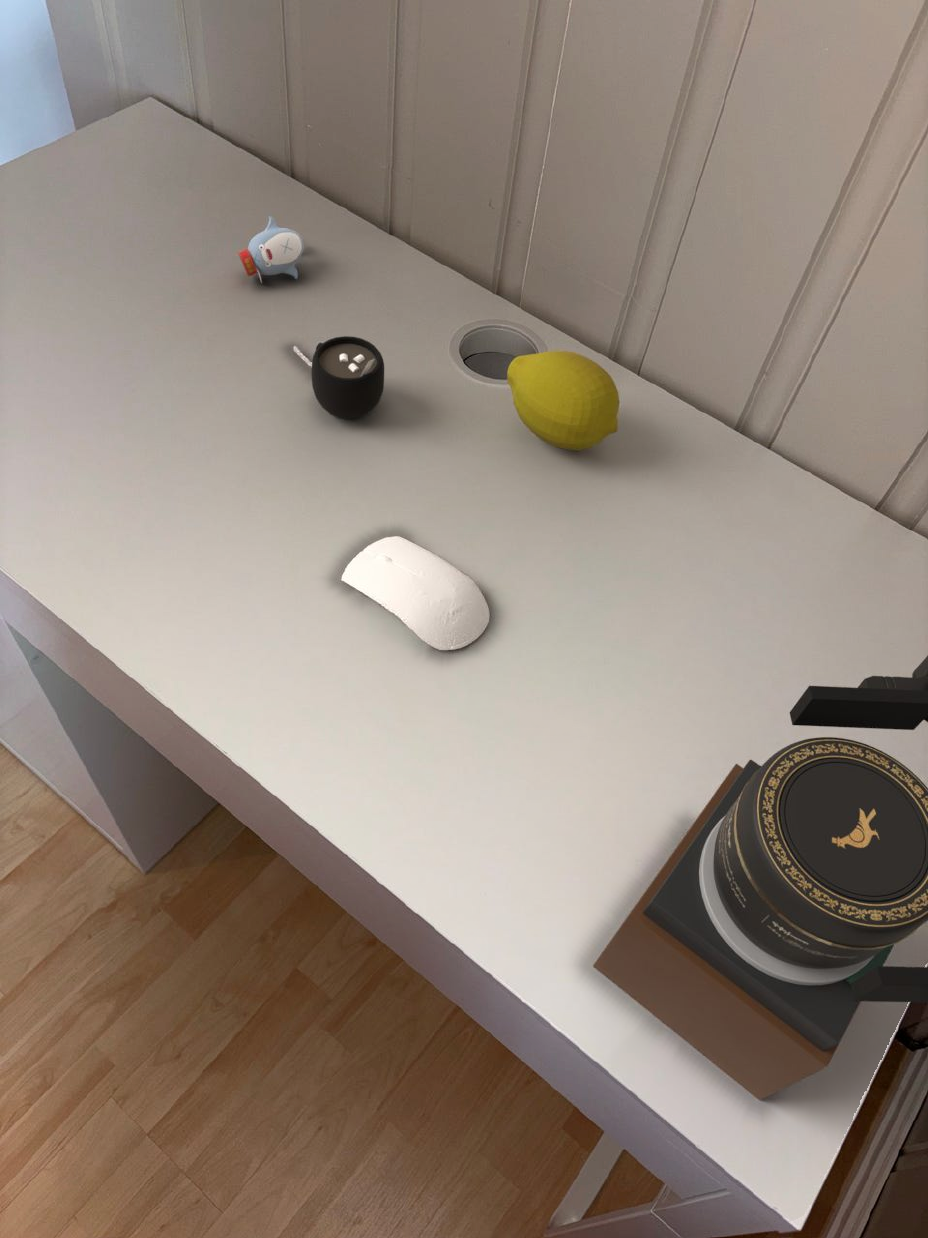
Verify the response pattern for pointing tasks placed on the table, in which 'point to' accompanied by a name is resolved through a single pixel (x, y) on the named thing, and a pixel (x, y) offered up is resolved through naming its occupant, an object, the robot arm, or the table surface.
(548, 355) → the lemon
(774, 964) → the scale
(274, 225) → the figurine
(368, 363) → the mug
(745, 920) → the jar
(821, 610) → the table surface
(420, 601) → the computer mouse
